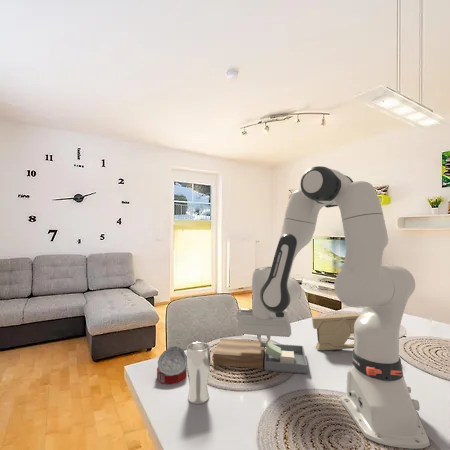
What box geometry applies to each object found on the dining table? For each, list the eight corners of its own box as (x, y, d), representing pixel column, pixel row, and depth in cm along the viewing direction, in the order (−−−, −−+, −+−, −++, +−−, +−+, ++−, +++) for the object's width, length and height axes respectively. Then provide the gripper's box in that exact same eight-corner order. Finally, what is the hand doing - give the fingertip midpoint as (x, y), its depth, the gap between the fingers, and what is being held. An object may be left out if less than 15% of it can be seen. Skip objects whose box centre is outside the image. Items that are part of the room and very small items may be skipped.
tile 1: (278, 359, 102) (281, 353, 102) (265, 352, 103) (268, 346, 103) (278, 353, 107) (280, 348, 107) (266, 347, 108) (268, 341, 108)
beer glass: (188, 407, 77) (188, 352, 77) (185, 392, 84) (185, 343, 84) (212, 402, 79) (212, 349, 79) (207, 389, 86) (207, 340, 86)
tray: (307, 374, 94) (307, 365, 94) (264, 370, 97) (264, 361, 97) (302, 353, 110) (302, 345, 110) (266, 350, 113) (265, 343, 113)
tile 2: (280, 356, 101) (280, 363, 101) (294, 357, 100) (294, 364, 100) (280, 350, 106) (280, 357, 106) (293, 351, 105) (293, 358, 105)
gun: (376, 349, 113) (372, 312, 114) (380, 353, 110) (376, 315, 110) (315, 352, 116) (311, 316, 116) (317, 356, 112) (313, 318, 113)
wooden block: (263, 369, 98) (263, 357, 98) (213, 364, 101) (213, 353, 101) (264, 351, 112) (264, 341, 112) (220, 348, 115) (220, 338, 115)
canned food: (186, 385, 96) (199, 362, 95) (167, 398, 87) (181, 372, 86) (164, 363, 101) (176, 340, 100) (144, 373, 92) (157, 348, 91)
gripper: (235, 310, 104) (235, 348, 104) (291, 313, 100) (291, 352, 100) (237, 306, 110) (237, 341, 110) (290, 308, 106) (290, 344, 106)
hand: (263, 346), depth 105 cm, fingers closed
